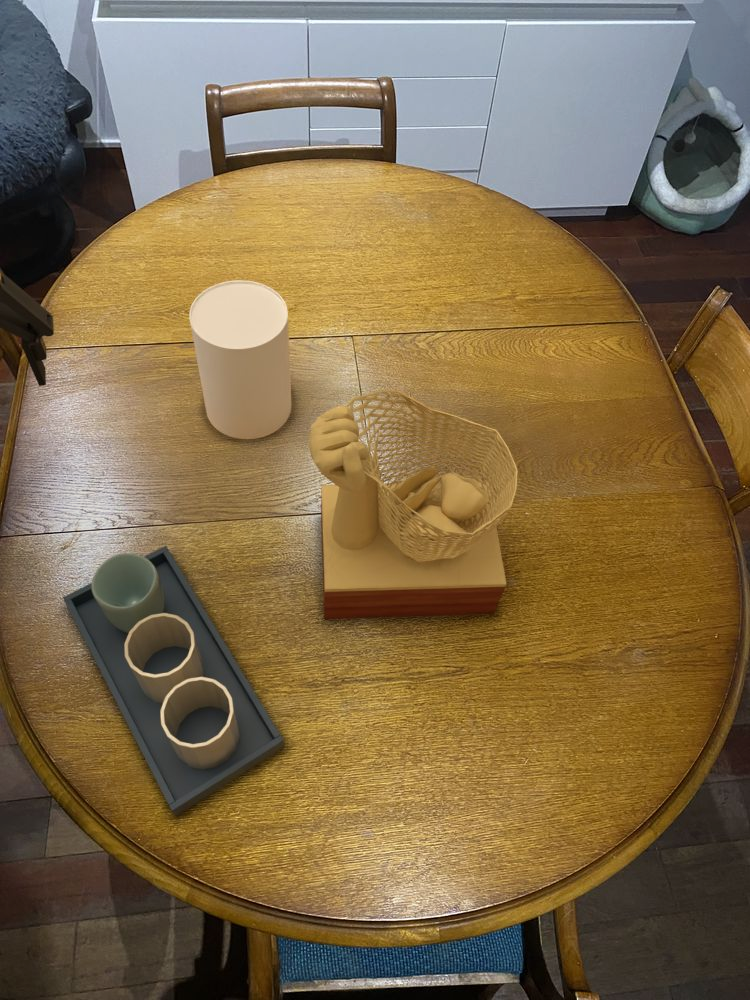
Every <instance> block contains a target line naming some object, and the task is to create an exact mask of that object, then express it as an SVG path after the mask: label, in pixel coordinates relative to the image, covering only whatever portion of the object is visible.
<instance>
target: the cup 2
mask: <svg viewBox="0 0 750 1000" xmlns="http://www.w3.org/2000/svg"><path fill="white" fill-rule="evenodd" d="M124 645H125V658H126V660H127V662H128V663H129V665H130V667H131V669H132V671H133V673H134V675H135V677H136V678H137V680H138V682H139V684H140V686H141V688H142V690H143V692H144V693H145V695H146V696H148V697H149V698H150V699H152V700H153V701H154V702H158V703H163V702H164V699H165V697H166V696H167V695H168V693H169V692H170V691H171V690H172V689H173V687H174V686H176V685H178V684H179V683H181V682H183V681H185V680H186V679H190V678H196V677H203V675H204V668H203V661H202V658H201V654H200V651H199V648H198V645H197V642H196V639H195V636H194V633H193V631H192V629H191V628H190V626H189V624H188V623H187V622H186V621H185V620H183V619H182V618H180V617H179V616H177V615H172V614H167V613H161V614H154V615H150V616H148V617H146V618H144V619H143V620H141V621H139V622H138V623H137V624H136V625H135V626H134V627H133V628H132V629H131V630H130V632H129V634H128V636H127V639H126V641H125V644H124ZM172 646H178V647H183V648H187V649H188V650H189V653H188V656H187V657H186V659H185V660H184V661H183V662H182V663H181V664H180V666H178V667H177V668H175V669H173V670H171V671H169V672H167V673H161V674H150V673H145V672H143V670H144V667H145V664H146V662H147V661H148V660H149V659H150V657H151V656H152V655H153V654H154V653H156V652H158V651H159V650H161V649H163V648H166V647H172Z"/></svg>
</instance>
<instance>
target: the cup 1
mask: <svg viewBox="0 0 750 1000" xmlns="http://www.w3.org/2000/svg"><path fill="white" fill-rule="evenodd" d="M91 583H92V584H91V587H92V593H93V596H94V598H95V600H96V602H97V604H98V606H99V608H100V610H101V611H102V613H103V614H104V616H105V617H106V618H107V620H108V621H109V622H110V623H111V624H112V625H113V626H114V627H116V628H117V629H119V630H120V631H123V632H125V633H128V634H129V632H130V630H131V629H132V628H133V627H134V626H135V625H136V624H137V623H138V622H139V621H141V620H143V619H144V618H146V617H148V616H150V615H154V614H161V613H163V612H164V608H165V595H164V590H163V586H162V583H161V580H160V577H159V575H158V572H157V570H156V568H155V566H154V565H153V564H152V563H151V562H150V561H149V560H148V559H146V558H145V557H144V556H142V555H141V554H138V553H134V552H133V553H132V552H121V553H117V554H114V555H112V556H110V557H109V558H107V559H105V560H104V561H103V562H102V563H101V564H100V565H99V566H98V568H97V570H96V571H95V572H94V574H93V576H92V580H91Z"/></svg>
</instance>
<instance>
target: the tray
mask: <svg viewBox="0 0 750 1000" xmlns="http://www.w3.org/2000/svg"><path fill="white" fill-rule="evenodd" d="M143 557H145V558H146V559H148V560H149V561H150V562H151V563H152V564H153V565H154V566H155V568H156V570H157V572H158V575H159V577H160V580H161V583H162V586H163V590H164V595H165V608H164V612H163V613H167V614H172V615H177V616H179V617H180V618H182V619H183V620H185V621H186V622H187V623H188V624H189V626H190V628H191V629H192V631H193V633H194V636H195V639H196V642H197V645H198V648H199V651H200V654H201V658H202V661H203V668H204V675H203V677H206V678H210V679H215V680H216V681H218V682H219V683H221V684H222V685H223V686H225V687H226V689H227V690H228V692H229V694H230V695H231V697H232V700H233V704H234V707H235V711H236V715H237V719H238V722H239V729H240V739H239V742H238V746H237V749H236V750H235V752H234V753H233V754H232V756H231V757H230V758H229V759H228V760H227V761H226V762H224V763H222V764H221V765H219V766H218V767H215V768H210V769H205V770H201V769H196V768H192V767H189V766H188V765H186V764H185V763H184V762H182V761H181V760H180V759H179V757H178V755H177V754H176V752H175V750H174V748H173V746H172V744H171V742H170V740H169V739H168V737H167V735H166V733H165V731H164V729H163V727H162V725H161V714H160V710H161V708H162V705H163V703H158V702H154V701H153V700H152V699H150V698H149V697H148V696H146V695H145V693H144V692H143V690H142V688H141V686H140V684H139V682H138V680H137V678H136V677H135V675H134V673H133V671H132V669H131V667H130V665H129V663H128V662H127V660H126V658H125V645H124V644H125V641H126V639H127V636H128V633H125V632H123V631H120V630H119V629H117V628H116V627H114V626H113V625H112V624H111V623H110V622H109V621H108V620H107V618H106V617H105V616H104V614H103V613H102V611H101V610H100V608H99V606H98V604H97V602H96V600H95V598H94V596H93V593H92V587H91V584H92V582H90V583H89V584H87V585H85V586H84V585H83V586H82V587H80V588H78V589H77V590H74V591H71V592H70V593H69V594H66V595H65V596H63V597H62V599H63V601H64V603H65V605H66V607H67V609H68V611H69V613H70V615H71V618H73V619H72V620H74V622H75V624H76V626H77V628H78V631H79V633H80V634H81V636H82V638H83V640H84V642H85V644H86V646H87V648H88V650H89V652H90V654H91V657H92V658H93V660H94V662H95V664H96V666H97V668H98V669H99V671H100V673H101V675H102V677H103V680H104V682H105V684H106V685H107V687H108V689H109V690H110V693H111V695H112V696H113V699H114V701H115V703H116V705H117V707H118V709H119V710H120V713H121V715H122V716H123V718H124V720H125V723H126V725H127V726H128V728H129V730H130V732H131V734H132V736H133V738H134V741H135V742H136V744H137V746H138V748H139V750H140V752H141V754H142V756H143V758H144V760H145V762H146V763H147V766H148V768H149V769H150V771H151V773H152V775H153V777H154V779H155V781H156V784H157V785H158V787H159V789H160V791H161V793H162V795H163V797H164V799H165V801H166V803H167V805H168V806H169V809H170V810H171V812H172V814H173V815H174V816H175V817H177V816H179V815H181V814H183V813H184V812H185V811H187V810H189V809H191V808H193V807H194V806H195V805H197V804H198V803H200V802H202V801H203V800H205V799H206V798H208V797H209V796H211V795H213V794H214V793H215V792H217V791H220V789H222V788H224V787H225V786H227V785H229V784H230V783H231V782H233V781H235V780H236V779H238V778H239V777H241V776H242V775H244V774H246V773H247V772H249V771H251V770H252V769H253V768H255V767H257V766H258V765H260V764H261V763H263V762H264V761H266V760H267V759H269V758H271V757H272V756H274V755H276V754H277V753H279V752H280V751H282V750H283V749H285V739H284V738H283V736H282V735H281V733H280V731H279V729H278V728H277V726H276V725H275V723H274V721H273V720H272V718H271V717H270V715H269V713H268V711H267V710H266V708H265V707H264V705H263V703H262V702H261V700H260V699H259V697H258V695H257V693H256V691H255V690H254V688H253V686H252V685H251V684H250V682H249V680H248V679H247V677H246V675H245V674H244V672H243V670H242V668H241V666H239V664H238V662H237V660H236V659H235V657H234V655H233V654H232V652H231V650H230V649H229V647H228V645H227V643H226V642H225V640H224V639H223V637H222V635H221V634H220V632H219V631H218V629H217V627H216V626H215V624H214V623H213V621H212V619H211V617H210V615H209V614H208V612H207V610H206V608H204V606H203V604H202V603H201V601H200V599H199V597H198V596H197V594H196V592H195V591H194V589H193V588H192V586H191V584H190V583H189V581H188V579H187V578H186V576H185V574H184V572H183V571H182V570H181V568H180V566H179V564H178V563H177V561H176V560H175V558H174V556H173V554H172V553H171V552H170V550H169V548H168V547H167V545H164V546H163V547H161V548H158V549H157V550H154V551H152V552H151V553H148V554H147V555H144V556H143ZM188 653H189V650H188V649H187V648H183V647H178V646H172V647H166V648H163V649H161V650H159V651H158V652H156V653H154V654H153V655H152V656H151V657H150V659H149V660H148V661H147V662H146V664H145V667H144V670H143V672H145V673H150V674H161V673H167V672H169V671H171V670H173V669H175V668H177V667H178V666H180V664H181V663H182V662H183V661H184V660H185V659H186V657H187V656H188ZM228 717H229V714H228V713H227V712H225V711H224V710H222V709H221V708H216V707H211V706H208V707H202V708H198V709H196V710H194V711H193V712H191V713H189V714H188V715H187V716H186V717H185V718H184V720H183V721H182V722H181V723H180V725H179V728H178V731H177V734H176V739H178V740H179V741H180V742H185V743H190V744H197V743H203V742H207V741H209V740H210V739H212V738H214V737H215V736H217V735H218V734H219V733H220V732H221V730H222V729H223V728H224V726H225V725H226V724H227V720H228Z"/></svg>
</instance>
